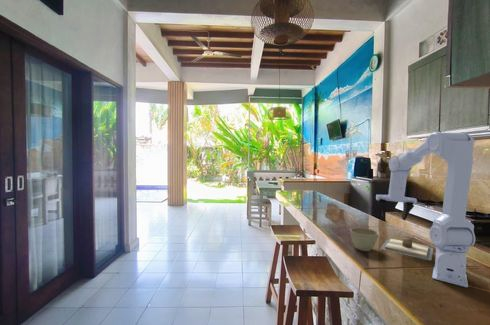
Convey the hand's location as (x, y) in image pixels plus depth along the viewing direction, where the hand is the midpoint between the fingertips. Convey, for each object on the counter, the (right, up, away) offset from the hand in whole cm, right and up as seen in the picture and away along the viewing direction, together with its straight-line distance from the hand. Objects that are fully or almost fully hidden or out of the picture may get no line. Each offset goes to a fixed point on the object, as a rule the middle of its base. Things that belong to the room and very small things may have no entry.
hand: (393, 218), depth 106 cm
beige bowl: (-17, -10, -8) cm, 21 cm away
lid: (+1, -10, -7) cm, 13 cm away
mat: (+1, -11, -7) cm, 13 cm away
